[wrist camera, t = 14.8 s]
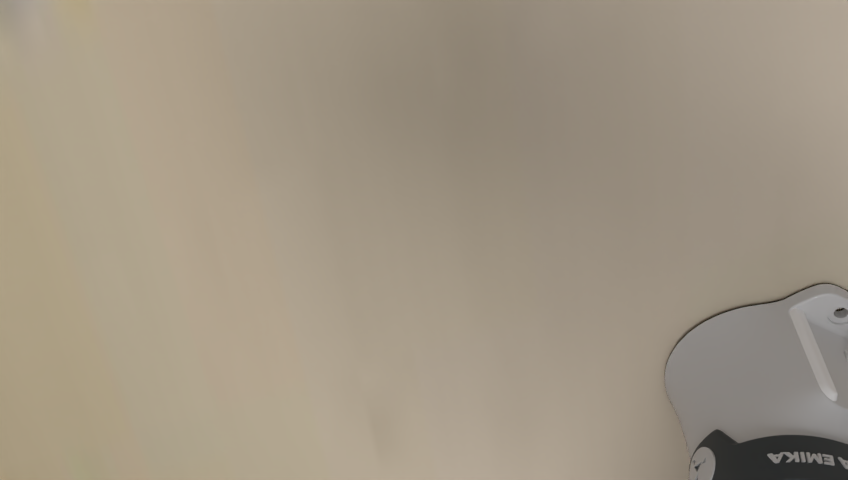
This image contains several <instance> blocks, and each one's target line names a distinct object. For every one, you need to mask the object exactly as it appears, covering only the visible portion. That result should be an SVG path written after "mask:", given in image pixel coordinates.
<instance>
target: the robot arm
mask: <svg viewBox="0 0 848 480" xmlns="http://www.w3.org/2000/svg"><path fill="white" fill-rule="evenodd" d="M838 308H845V309H843V310H841V311H835V310H836V309H838ZM665 388H666V392H667V395H668V398H669V400H670V402H671V404H672V406H673V407H674V410H675V412H676V414H677V416H678V419H679V421H680V424H681V427H682V430H683V433H684V437H685V440H686V444H687V448H688V452H689V457H690V465H689V480H848V291H846V290H844V289H842V288H840V287H838V286H835V285H831V284H820V285H816V286H813V287H810V288H808V289H805V290H803V291H801V292H799V293H796V294H794V295H792V296H790V297H788V298H786V299H784V300H782V301H778V302H773V303H768V304H761V305H755V306H748V307H743V308H739V309H735V310H732V311H729V312H725V313H723V314H720V315H718V316H715V317H713V318H711V319H709V320H707V321H705V322H704V323H702V324H700V325H699V326H697V327H696V328H694V329H693V330H692V331H690V332H689V333H688V334H687V335H686V336H685V337H684V338H683V339H682V340H681V341H680V342H679V343H678V345H677V346H676V347H675V349H674V350H673V352H672V354H671V355H670V357H669V360H668V362H667V366H666V370H665Z"/></svg>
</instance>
